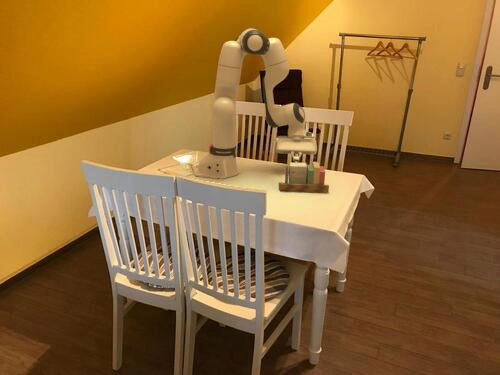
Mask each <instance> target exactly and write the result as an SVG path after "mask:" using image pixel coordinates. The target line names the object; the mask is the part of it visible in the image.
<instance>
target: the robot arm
mask: <svg viewBox="0 0 500 375" xmlns="http://www.w3.org/2000/svg"><path fill="white" fill-rule="evenodd" d="M284 47H285V46H283V43H282V41H281V40H280V39H279V38H278V37H270V38H268V37H266V36H265V34H264V33H263V32H261V31H260V30H258V29H256V28H253V27H252V28H246V29H243V30H242V31H241V32H240V33H239V35H238V36H237V37H236V39H235V40H229V41H226V42H224V43H223V45H222V48H221V50H220V54H219V57H218V58H219V59H218V63H217V64H218V65H217V69H216V70H217V72H216V79H215V87H214V94H213V101H212V109H211V112H212V113H211V114H212V115H211V116H212V143H210V145H209V149H208V151H209V152H208V153H207V154H206V155H204V156H203V157H202V158H201V159H200V160H199V163H198V166H197V167H198V168H197V167H196V168H197V169H196V168H195V169H194V171H193V175H194V176H195V177H200V178H201V177H202V178H208V179H209V178H210V179H218V178H219V179H220V180H223V179H228V178H231V177H232V178H233V177H235V176H237V175H239V169H238V165H237V164H238V163H237V145H236V128H237V127H236V120H237V119H236V118H237V108H236V106H237V105H236V103H237V99H238V98H237V96H238V92H239V88H240V81H241V77H242V76H241V74H242V68H243V61H244V58H245V56H247V55H248V54H249V55H252V56H261V58H262V60H263V63H264V66H265V75H264V77H262V93H263V100H264V107H265V121H266V124H267V125H268V126H270V127H271V128H273V129H275V128H276V129H277V128H279V127H282V126H287V125H288V129H287V135H279V136H276V139H275V143H276V147H275V151H276V153H277V154H286V155H287V154H289V155H290V156H291V158H292V161H293V162H300V159H301V157H302V155H310V156H311V155H316V154H317V152H318V144H317V140H316V139H315V133H314V132H310V131H307V130H306V123H307V122H306V113H305V110H304V107H302V106H301V105H299V104H298V103H297V102H296V103H295V102H292V103H287V104H285V105H284V104H283V105H281V106H276V105H275V101H274V92H273V91H274V88H275V87H276V86H277V85H278V84H280V83H281V82H282V81H284V80H285V79H286V78H287V76H288V75H289V72H290V63H289V59H288V56H287V53H286V51H285V50H286V49H285V48H284ZM295 155H298V156H295Z"/></svg>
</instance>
